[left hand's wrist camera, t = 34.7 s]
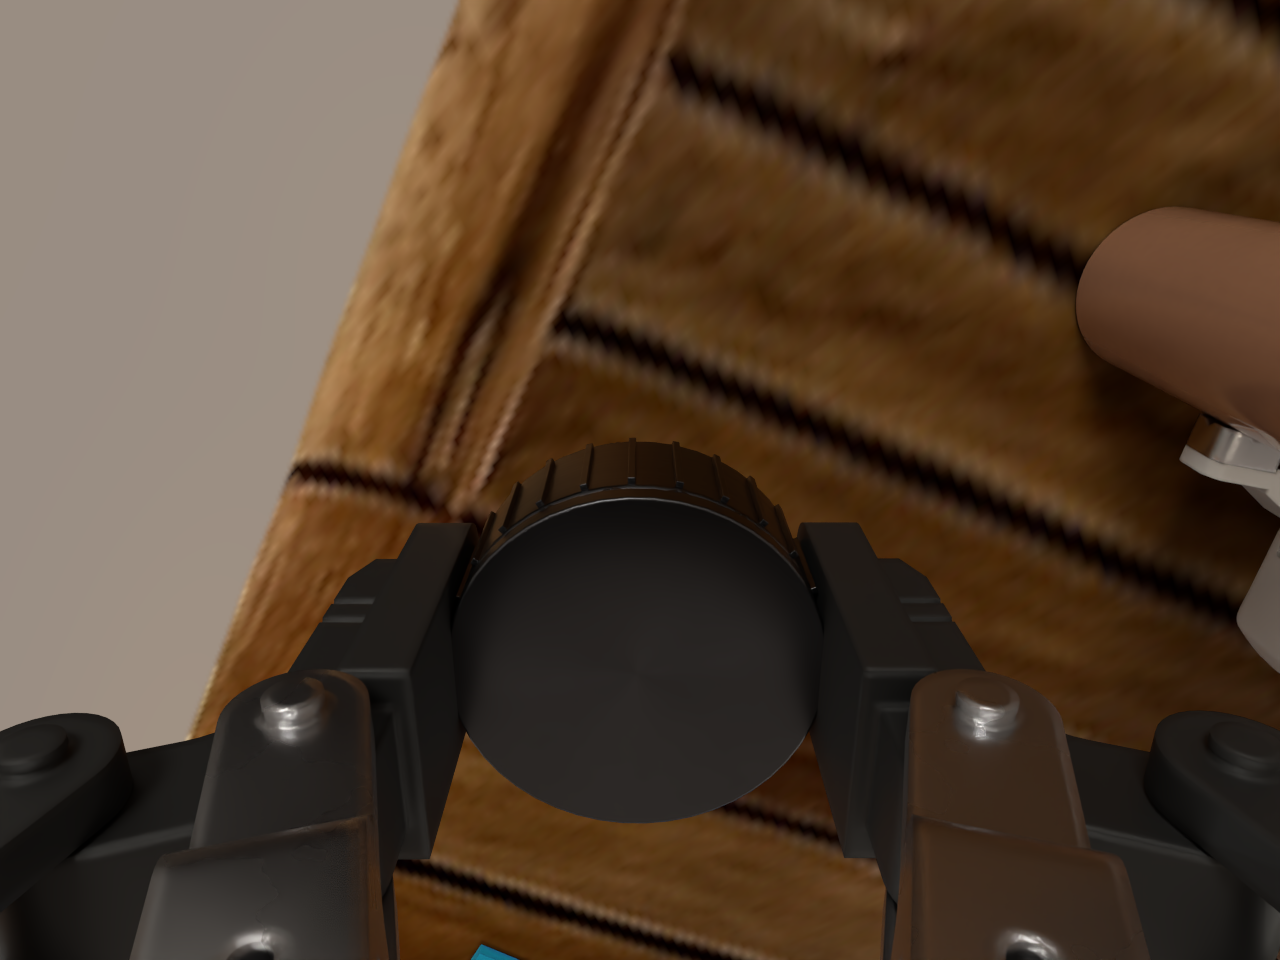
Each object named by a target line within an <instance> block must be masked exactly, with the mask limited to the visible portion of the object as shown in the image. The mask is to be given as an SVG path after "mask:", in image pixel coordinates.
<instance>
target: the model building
mask: <svg viewBox="0 0 1280 960" xmlns="http://www.w3.org/2000/svg"><path fill="white" fill-rule="evenodd" d="M471 960H519V959H516V958H514V957H511V956H509V955H506V954H504V953H502V952H499V951H497V950H494V949H492V948H489V947H487V946H484V945H482V944H481V946H480V947H479V948H478V950H477V951H476V953H475V954H474V956H473V957H472V959H471Z"/></svg>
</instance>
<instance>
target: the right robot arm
mask: <svg viewBox="0 0 1280 960" xmlns="http://www.w3.org/2000/svg"><path fill="white" fill-rule="evenodd" d="M1179 460H1180V461H1181V462H1183V463H1184V464H1186V465H1187V466H1189V467H1191V468H1192V469H1194V470H1195V471H1197V472H1199V473H1200V474H1203V475H1205V476H1208V477H1210V478H1213V479H1216V480H1220V481H1224V482H1230V483H1235V484H1240V485H1242V486H1243V487H1244V488H1245V489H1246V490H1247V491H1248V492H1249V493H1250V494H1251V495H1252V496H1253V497H1254V498H1255V499H1256V500H1257V501H1258V502H1259V503H1260V504H1261V505H1262V506H1263V507H1264V508H1265V509H1267V510H1268V511H1270V512H1272V513H1273V514H1275V515H1276V516H1278V517H1280V470H1279V469H1278V466H1279V463H1280V452H1278V451H1276V450H1275V449H1273V448H1271V447H1269V446H1267V445H1265V444H1263V443H1261V442H1259V441H1257V440H1255V439H1254V438H1252V437H1250V436H1248V435H1246V434H1244V433H1242V432H1240V431H1238V430H1236V429H1234V428H1232V427H1231V426H1229V425H1227V424H1225V423H1223V422H1221V421H1219V420H1217V419H1215V418H1213V417H1211V416H1210V415H1208V414H1206V413H1200V414H1199V416H1198V418H1197V420H1196V422H1195V425H1194V427H1193V429H1192V431H1191V433H1190V435H1189V438H1188V440H1187V442H1186V446H1185V448H1184V450H1183V452H1182V454H1181V456H1180V459H1179ZM1237 624H1238V626H1239V628H1240V630H1241V631H1242V633H1243V634H1244V636H1245V637H1246V639H1247V640H1248V641H1249V643H1250V644H1251V646H1252V647H1253V648H1254V649H1255V651H1256V652H1257V653H1258V654H1259V655H1260V656H1261V657H1262V658H1263V659H1264V660H1265V661H1266V662H1267V663H1268V664H1269V665H1270V666H1271V667H1272V668H1273V669H1275V670H1276V671H1277V672H1278V673H1280V528H1279V530H1278V532H1277V534H1276V536H1275V538H1274V540H1273V542H1272V544H1271V546H1270V548H1269V550H1268V552H1267V554H1266V556H1265V558H1264V560H1263V563H1262V565H1261V567H1260V569H1259V571H1258V573H1257V575H1256V577H1255V579H1254V581H1253V583H1252V585H1251V587H1250V589H1249V591H1248V593H1247V595H1246V596H1245V598H1244V600H1243V602H1242V604H1241V606H1240V608H1239V611H1238V613H1237Z"/></svg>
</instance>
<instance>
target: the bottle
mask: <svg viewBox="0 0 1280 960" xmlns="http://www.w3.org/2000/svg"><path fill="white" fill-rule="evenodd" d="M1076 314H1077V320H1078V325H1079V328H1080V331H1081V333H1082V335H1083V337H1084V339H1085V341H1086V342H1087V344H1088V345H1089V347H1090V348H1091V349H1092V350H1093V351H1094V352H1095V353H1096V354H1097V355H1098V356H1099V357H1101V358H1102V359H1103V360H1105V361H1106V362H1108V363H1110V364H1112V365H1114V366H1116V367H1118V368H1120V369H1122V370H1124V371H1125V372H1127V373H1129V374H1131V375H1133V376H1135V377H1137V378H1139V379H1141V380H1143V381H1145V382H1146V383H1148V384H1150V385H1152V386H1154V387H1156V388H1158V389H1160V390H1162V391H1164V392H1166V393H1167V394H1169V395H1171V396H1173V397H1175V398H1177V399H1179V400H1181V401H1183V402H1185V403H1187V404H1189V405H1190V406H1192V407H1194V408H1196V409H1198V410H1200V411H1202V412H1204V413H1206V414H1208V415H1210V416H1211V417H1213V418H1215V419H1217V420H1219V421H1221V422H1223V423H1225V424H1227V425H1229V426H1231V427H1232V428H1234V429H1236V430H1238V431H1240V432H1242V433H1244V434H1246V435H1248V436H1250V437H1252V438H1254V439H1255V440H1257V441H1259V442H1261V443H1263V444H1265V445H1267V446H1269V447H1271V448H1273V449H1275V450H1276V451H1278V452H1280V222H1276V221H1270V220H1264V219H1257V218H1251V217H1245V216H1239V215H1233V214H1226V213H1220V212H1214V211H1208V210H1202V209H1195V208H1189V207H1164V208H1160V209H1155V210H1151V211H1148V212H1145V213H1142V214H1140V215H1138V216H1136V217H1134V218H1132V219H1130V220H1129V221H1127V222H1125V223H1124V224H1122V225H1121V226H1119V227H1118V228H1117V229H1116V230H1114V231H1113V232H1112V233H1111V234H1110V235H1109V236H1108V237H1107V238H1105V239H1104V240H1103V241H1102V243H1101V244H1100V245H1099V246H1098V248H1097V249H1096V250H1095V251H1094V253H1093V254H1092V256H1091V257H1090V259H1089V261H1088V263H1087V265H1086V266H1085V268H1084V270H1083V273H1082V276H1081V279H1080V281H1079V286H1078V290H1077V297H1076Z"/></svg>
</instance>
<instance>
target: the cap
mask: <svg viewBox="0 0 1280 960" xmlns="http://www.w3.org/2000/svg"><path fill="white" fill-rule="evenodd" d="M816 593H818V590H817V587H816V585H815V582H814V579H813V577H812V574H811V571H810V569H809V566H808V563H807V561H806V558H805V556H804V553H803V550H802V548H801V545H800V542H799V540H798V538H794V539H793V538H792V535H791V533H790V530H789V527H788V525H787V522H786V519H785V516H784V514H783V511H782V508H781V507H780V506H779V504H777V505H776V506H774V505H773V504H772V503H771V501H770V500H769V499H768V498H767V497H766V496H765V495H764V494H763V493H762V492H761V491H760V490H759V489H758V488H757V485H756V482H755V479H754V478H753V477H751V476H749V477H748V478H745V477H744V476H743V475H741V474H740V473H739V472H738V471H736V470H734V469H733V468H731V467H729V466H728V465H726V464H724V463H722V462H721V460H720V457H719V456H717V455H715V454H714V455H713V457H709V456H707V455H705V454H702V453H700V452H697V451H694V450H690V449H687V448H683V447H680V445H679V442H675V441H673V442H672V444H662V443H655V442H636V438H629V442H622V443H619V442H617V443H610V444H605V445H600V446H596V447H594V446H593V444H592V443H591V444H587V445H586V449H584V450H581V451H578V452H576V453H573V454H570V455H568V456H565V457H562V458H561V459H559V460H557V461H554V460H553V459H552V458H551V459H550V460H548V461H547V462H546V466H545V467H544V468H542V469H541V470H539V471H538V472H536V473H535V474H534V475H532V476H531V477H529V478H528V479H527V480H525V481H524V482H523V483H522V484H520V483H519V482H517V483H515V484H514V486H513V488H512V491H511V494H510V496H509V497H508V498H507V499H506V500H505V502H504V503H503V504H502V505H501V507H500V508H499V509H498V510H497V512H496V513H494V512H492V511H491V513H490V514H489V516H488V519H487V521H486V524H485V526H484V529H483V532H482V534H481V537H480V539H479V542H478V545H477V546H475V549H474V551H473V554H472V556H471V559H470V562H469V564H468V567H467V569H466V572H465V575H464V577H463V580H462V582H461V585H460V588H459V590H458V593H457V595H456V599H457V603H458V604H457V607H456V609H455V612H454V615H453V618H452V622H451V641H452V652H453V664H454V675H455V686H456V698H457V709H458V716H459V719H460V721H461V723H462V725H463V727H464V728H465V730H466V732H467V734H468V736H469V737H470V739H471V741H472V742H473V743H474V745H475V746H476V747H477V749H478V750H479V751H480V753H481V754H482V755H483V757H484V758H485V759H486V760H487V761H488V762H489V763H490V764H491V765H492V766H493V767H494V768H495V769H496V770H497V771H498V772H499V773H500V774H502V775H503V776H504V777H505V778H507V779H508V780H509V781H510V782H512V783H513V784H514V785H515V786H517V787H518V788H520V789H522V790H523V791H525V792H526V793H528V794H530V795H531V796H533V797H534V798H536V799H538V800H541V801H543V802H545V803H547V804H549V805H551V806H553V807H555V808H558V809H561V810H564V811H567V812H570V813H573V814H576V815H579V816H584V817H588V818H592V819H597V820H603V821H611V822H619V823H654V822H665V821H672V820H677V819H682V818H687V817H692V816H695V815H699V814H702V813H705V812H708V811H711V810H714V809H717V808H719V807H721V806H723V805H726V804H728V803H730V802H733V801H735V800H736V799H738V798H740V797H742V796H743V795H745V794H747V793H749V792H750V791H752V790H754V789H755V788H756V787H758V786H759V785H760V784H762V783H763V782H764V781H766V780H767V779H769V778H770V777H771V776H772V775H773V774H774V773H775V772H776V771H777V770H779V769H780V768H781V767H782V766H783V765H784V764H785V763H786V762H787V761H788V760H789V758H790V757H791V756H792V755H793V753H794V752H795V751H796V750H797V748H798V747H799V746H800V745H801V743H802V741H803V740H804V738H805V736H806V735H807V733H808V732H809V730H810V728H811V727H812V724H813V722H814V720H815V717H816V715H817V709H818V698H819V686H820V675H821V663H822V652H823V640H824V624H823V620H822V617H821V615H820V612H819V609H818V606H817V604H816V601H815V598H814V596H813V595H814V594H816Z"/></svg>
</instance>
